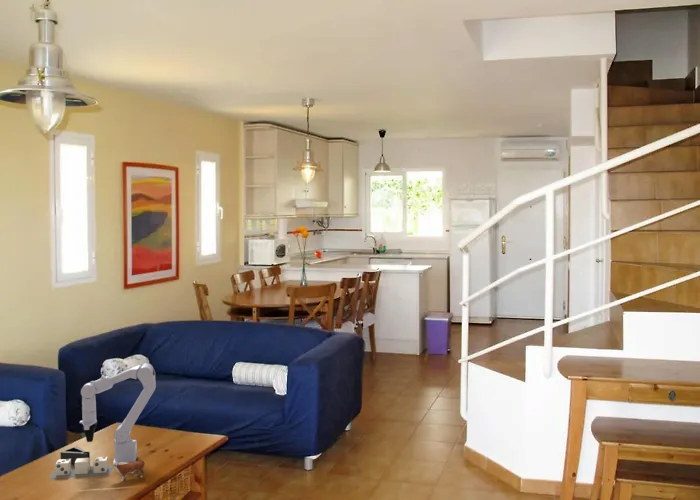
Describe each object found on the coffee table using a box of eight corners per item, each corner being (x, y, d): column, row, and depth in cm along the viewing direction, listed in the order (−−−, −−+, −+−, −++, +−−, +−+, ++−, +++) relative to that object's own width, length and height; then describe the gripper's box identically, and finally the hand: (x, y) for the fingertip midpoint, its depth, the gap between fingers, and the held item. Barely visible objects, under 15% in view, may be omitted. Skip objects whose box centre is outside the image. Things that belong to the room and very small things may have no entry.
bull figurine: (110, 480, 297) (110, 460, 296) (144, 475, 302) (143, 456, 302) (111, 484, 293) (111, 464, 292) (145, 478, 298) (145, 459, 298)
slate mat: (114, 466, 313) (114, 465, 313) (109, 476, 301) (109, 475, 301) (55, 470, 309) (55, 468, 309) (49, 480, 297) (48, 478, 297)
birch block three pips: (71, 470, 306) (70, 458, 306) (68, 474, 301) (68, 462, 301) (58, 471, 306) (58, 459, 305) (55, 475, 301) (55, 463, 300)
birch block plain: (89, 469, 308) (89, 457, 308) (87, 473, 303) (87, 461, 303) (77, 470, 307) (77, 458, 307) (74, 474, 302) (74, 462, 302)
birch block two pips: (108, 468, 309) (107, 456, 309) (106, 472, 304) (105, 460, 304) (95, 468, 308) (95, 457, 308) (93, 473, 303) (93, 461, 303)
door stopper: (60, 465, 314) (80, 470, 309) (60, 452, 313) (80, 456, 308) (76, 459, 322) (96, 463, 317) (76, 446, 322) (96, 450, 316)
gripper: (82, 406, 323) (83, 436, 324) (76, 416, 309) (77, 447, 310) (99, 406, 324) (99, 435, 325) (93, 415, 310) (94, 446, 311)
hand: (89, 441), depth 317 cm, fingers closed
